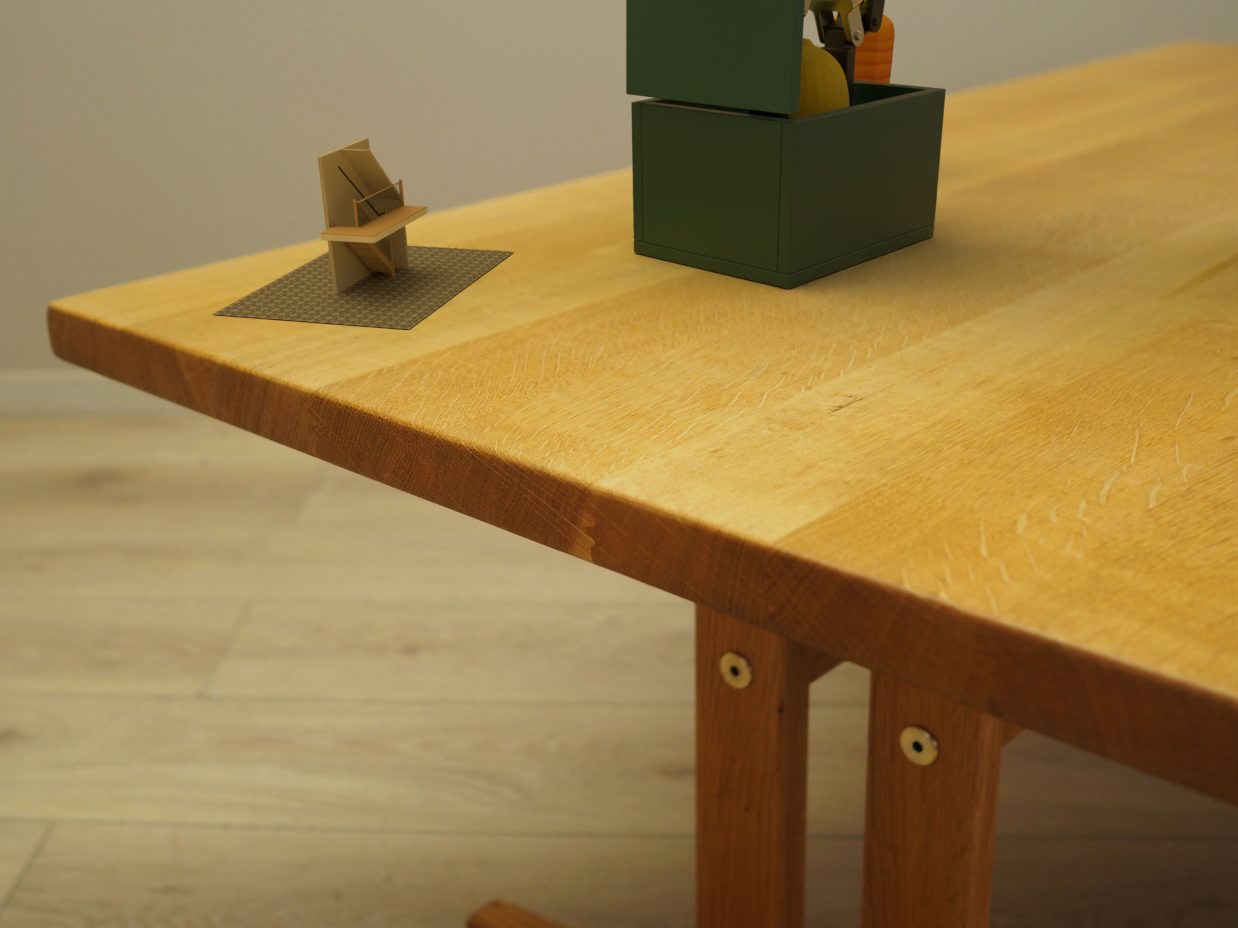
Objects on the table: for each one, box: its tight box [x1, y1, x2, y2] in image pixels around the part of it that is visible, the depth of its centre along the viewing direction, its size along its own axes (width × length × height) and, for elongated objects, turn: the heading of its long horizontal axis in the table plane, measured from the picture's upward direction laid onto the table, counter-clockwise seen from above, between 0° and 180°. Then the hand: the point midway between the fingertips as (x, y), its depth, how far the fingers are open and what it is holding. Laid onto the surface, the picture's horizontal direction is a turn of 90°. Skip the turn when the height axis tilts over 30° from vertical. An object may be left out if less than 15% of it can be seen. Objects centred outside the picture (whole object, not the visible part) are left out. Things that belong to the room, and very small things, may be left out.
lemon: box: [788, 37, 849, 120], centre depth 74 cm, size 6×6×8 cm
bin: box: [630, 80, 947, 290], centre depth 74 cm, size 15×12×9 cm
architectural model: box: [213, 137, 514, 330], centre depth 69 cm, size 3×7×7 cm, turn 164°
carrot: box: [834, 0, 896, 83], centre depth 92 cm, size 5×5×15 cm
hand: (802, 118), depth 74 cm, fingers closed on lemon, 5 cm apart
